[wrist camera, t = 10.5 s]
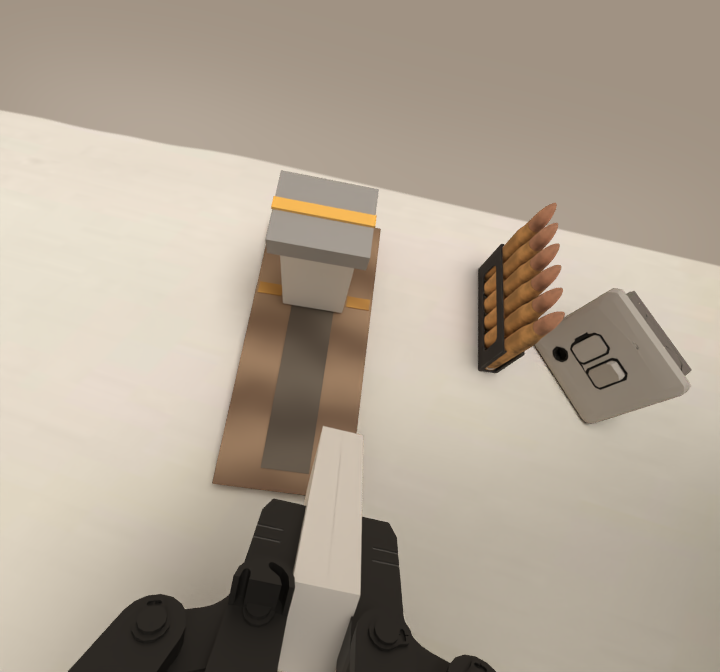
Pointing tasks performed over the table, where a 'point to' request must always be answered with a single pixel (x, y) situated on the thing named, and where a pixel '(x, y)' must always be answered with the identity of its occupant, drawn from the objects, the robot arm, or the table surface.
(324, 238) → the fader tab
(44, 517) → the table surface
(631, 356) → the electrical switch
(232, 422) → the fader console
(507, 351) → the ammunition clip
